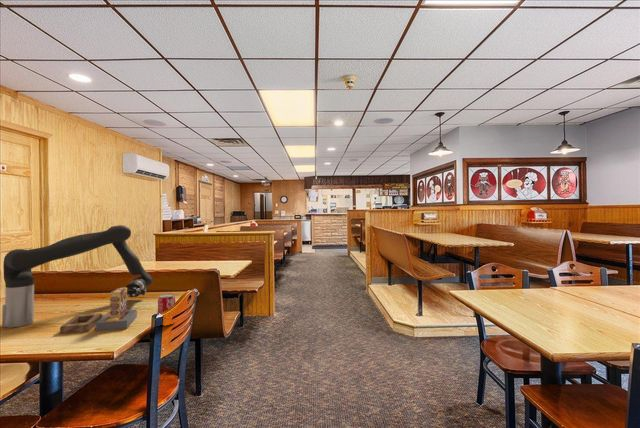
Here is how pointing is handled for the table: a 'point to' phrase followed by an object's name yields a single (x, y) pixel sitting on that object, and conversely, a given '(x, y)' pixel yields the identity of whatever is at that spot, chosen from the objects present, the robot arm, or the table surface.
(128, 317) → the dock
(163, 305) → the soda can
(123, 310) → the candy box
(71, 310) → the table surface
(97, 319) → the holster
